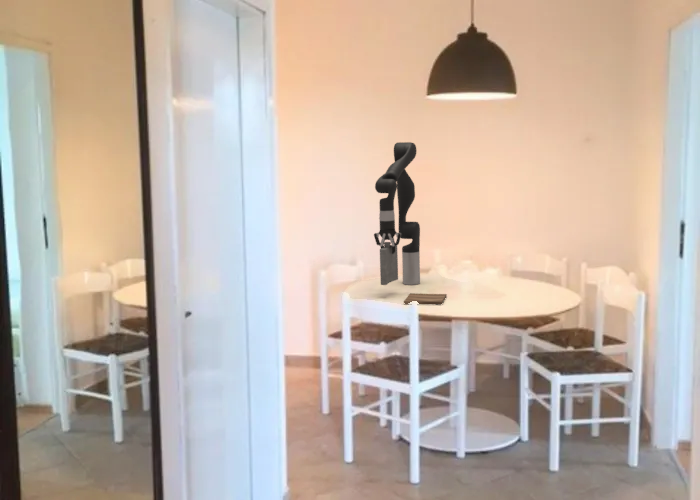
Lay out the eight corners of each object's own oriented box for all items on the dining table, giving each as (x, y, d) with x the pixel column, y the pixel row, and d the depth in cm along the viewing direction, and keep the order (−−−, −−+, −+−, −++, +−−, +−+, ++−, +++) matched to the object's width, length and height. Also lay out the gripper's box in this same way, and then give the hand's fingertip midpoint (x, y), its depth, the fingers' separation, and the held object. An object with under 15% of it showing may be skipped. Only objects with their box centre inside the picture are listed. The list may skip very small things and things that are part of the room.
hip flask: (385, 285, 391) (384, 244, 387) (378, 284, 392) (376, 244, 389) (399, 279, 404) (398, 240, 401) (391, 278, 406) (390, 239, 403)
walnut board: (410, 296, 395) (410, 293, 394) (446, 297, 390) (446, 294, 390) (403, 304, 377) (403, 301, 377) (441, 305, 373) (441, 301, 373)
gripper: (402, 218, 395) (403, 252, 398) (374, 218, 399) (375, 252, 401) (400, 220, 388) (400, 254, 391) (371, 220, 392) (372, 254, 394)
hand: (388, 253), depth 396 cm, fingers closed on hip flask, 4 cm apart
